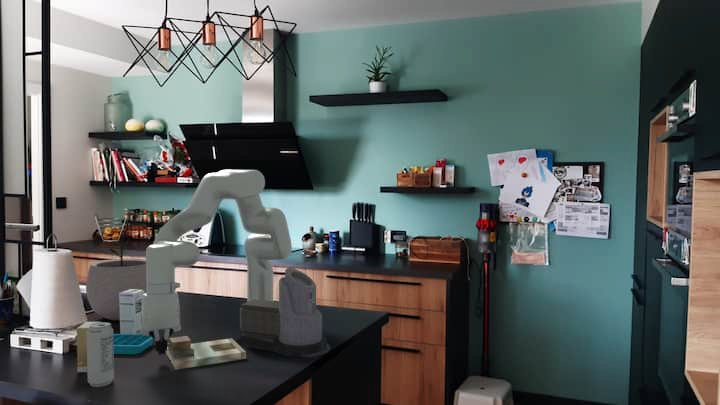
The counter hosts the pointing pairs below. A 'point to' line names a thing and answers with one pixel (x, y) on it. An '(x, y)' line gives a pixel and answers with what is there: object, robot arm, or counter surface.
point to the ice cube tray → (130, 343)
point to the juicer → (285, 320)
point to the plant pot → (113, 283)
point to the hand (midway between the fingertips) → (161, 353)
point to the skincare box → (82, 346)
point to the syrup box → (130, 311)
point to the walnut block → (179, 344)
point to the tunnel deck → (207, 353)
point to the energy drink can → (100, 354)
